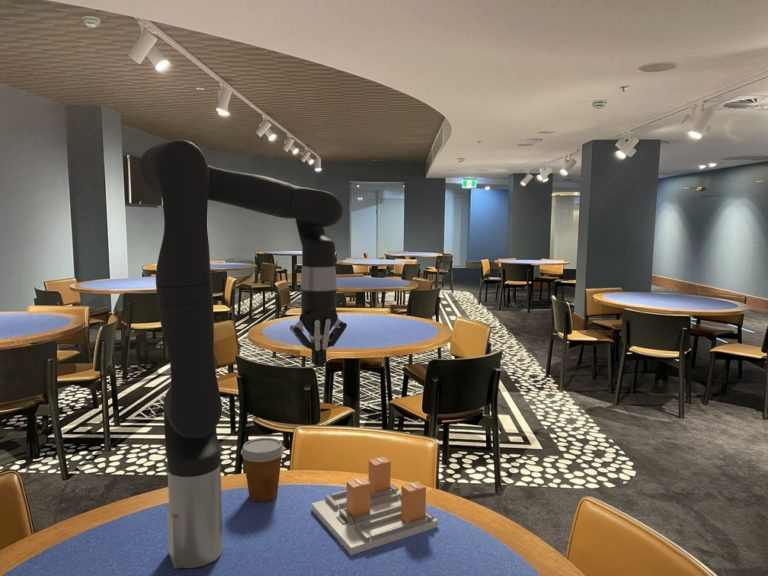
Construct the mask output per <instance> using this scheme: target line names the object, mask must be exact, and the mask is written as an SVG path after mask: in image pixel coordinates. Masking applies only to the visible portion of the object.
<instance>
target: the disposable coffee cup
mask: <svg viewBox="0 0 768 576" xmlns="http://www.w3.org/2000/svg"><path fill="white" fill-rule="evenodd" d="M284 452H285V447H284V446H283V443H282V441H280V440H279V439H277V438H273V437H258V438H253V439H250V440H248V441H246V442H245V443H244V444H243V445H242V449H241V451H240V454H241V456H242V458H243V463H244V464H243V465H244V471H245V478H246V483H247V484H246V485H247V490H248V496H249V499H250V500H252V501H253V502H261V503H262V502H268V501H272V500H273V499H275V498H276V497H277V496H278V491H279V482H280V476H281V475H280V474H281V467H282V466H281V465H282V455H283V453H284Z"/></svg>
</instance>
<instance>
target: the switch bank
mask: <svg viewBox="0 0 768 576" xmlns="http://www.w3.org/2000/svg"><path fill="white" fill-rule="evenodd" d="M324 498H325V499H324V500H319V501H316V502H312V503H311V504H310V505H311V510H310V511H312V513H314V515H315V514H316V515H315V516H316V517H317V518H318V519H319V520H320V521H321V523H322V524H323V525H324V526H325V527H326V529H327V530H329V531H330V533H331V534H332V535H333V537H335V539H336V538H337V542H339V543H340V544H341V545H342V547H343V546H344V547H343V548H344V549H345V550H346V551H347V552H348V554H349V555H350V556H353V555H356V554H359V553H362V552H365V551H368V550H371V549H375V548H378V547H381V546H384V545H387V544H390V543H392V542H396V541H399V540H403V539H405V538H408V537H412V536H414V535H418V534H420V533H424V532H427V531H430V530H433V529H436V528H438V527H439V520H438V519H437V518H436V517H435V516H434V515H432V514H431V513H430V512H429V511H427V510H426V513H425V518H422V519H419V520H416V521H413V522H410V523H406V522H405V521H404V520H403V519H402V518H401V489H399V488H398V487H396V486H395V485H394V484H393V483H392V482H390V489H389V490H385V491H381V492H378V493H374V494H373V493H372V492H371V491H370V513H369V514H366V515H362V516H359V517H355V518H354V520H353V519H352V518H351V517H350V516H349V515H348V514H347V489H346V490H340V491H337V492H334V493H330V495H329V494H326V495H325V496H324ZM380 545H381V546H380ZM374 547H375V548H374Z"/></svg>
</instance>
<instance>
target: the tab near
mask: <svg viewBox="0 0 768 576" xmlns="http://www.w3.org/2000/svg"><path fill="white" fill-rule="evenodd" d="M400 491H401V518H402V519H403V520H404V521H405V522H406V523H410V522H413V521H416V520H419V519H422V518H425V513H426V511H427V510H426V509H427V508H426V506H427V505H426V504H427V503H426V502H427V486H425V485H424V484H423V483H421V482H420V481H418V480H417V481H413V482H409V483H406V484H403V485H401V488H400Z"/></svg>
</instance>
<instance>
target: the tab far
mask: <svg viewBox="0 0 768 576" xmlns="http://www.w3.org/2000/svg"><path fill="white" fill-rule="evenodd" d="M391 463H392V462H391V461H390V460H389V459H388V458H386V457H385V456H381V457H376V458H373V459H369V460H368V481H369V482H370V491H371V492H372V493H373V494H374V493H378V492H381V491H385V490H389V489H390V483H391V469H392V468H391V465H392V464H391Z"/></svg>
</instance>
